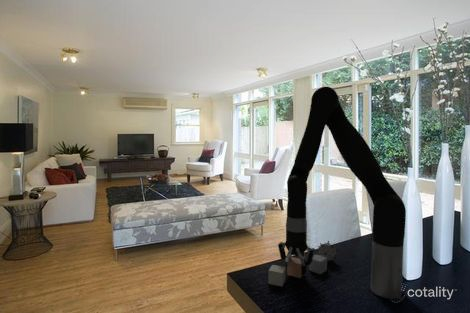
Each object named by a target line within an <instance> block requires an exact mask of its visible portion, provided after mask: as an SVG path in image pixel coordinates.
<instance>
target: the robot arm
mask: <svg viewBox="0 0 470 313" xmlns="http://www.w3.org/2000/svg"><path fill="white" fill-rule="evenodd" d="M310 101H311V102H310V108H309V113H308V119H307V123H306V126H305V129H304V132H303V135H302V137H301V138H302V139H301V142H300V143H299V146H298V149H297V153H296V154H295V155H296V156H295V158H294V163H293V165H292V168H291V170H290V172H289V175H288V177H287V180H286V181H287V182H286V185H287V203H286V220H285V242H283V241H280V242H279V243H278V244H277V247H278V251H279V256H280V259H281V260H284V261H285V267H286V271H287V262H288V261H289V260H290V259H291V258H292V257H293V256H296V257H298V258H299V259H300V260H301V263H302V276H304V275H306V273H307V271H308V270H307V269H308V268H307V267H308V266H309V265H310V264H311V262H312V259H313V256H314V255H315V251H316V249H315V248H314V247H312V248H311V247H309V246H308V244H307V241H308V240H307V237H308V236H307V234H308V229H307V228H308V226H307V225H308V222H307V221H308V220H307V198H308V179H309V176H310V172H311V170H312V169H313V168H314V165H315V163H316V161H317V160H316V159H317V157H318V153H319V151H320V147H321V143H322V138H323V135H324V132H325V131H324V130H325V128H326V127H327V128H328V130H329V132H330V134H331V135H332V136H331V137H332V138H333V141H334V143H335V146H336V148H337V150H338V152H339V154H340V156H341V158H342V159H343V161H344V162H345V164H346V166H347V167H348V168H349V170H350V172H352V174H354V176H355V177H356V178H357V179H358V180H359V182H360V183H361V184H362V185H363V187H364V188H365V190H366V192H367V193H368V196H369V197H370V200H371V202H372V204H373V209H372V210H373V211H372V242H371V243H372V244H371V247H372V248H371V267H370V290H371V292H372V293H373V294H375V295H376V296H378V297H380V298H385V299H391V300H392V299H393V300H394V299H396V300H401V299H402V290H403V289H402V287H403V267H404V266H403V262H404V261H403V260H404V245H405V244H404V242H405V235H406V234H405V233H406V220H407V219H406V218H407V217H406V215H407V213H406V212H407V211H406V205H405V203H404V201H403V199H402V198H401V197H400V195H399V194H398V193H397V192H396V191H395V189H394V188H393V186H391V184H390V183H389V181H388V180H387V178H386V177H385V175H384V173H383V171H382V168H381V167H380V165H379V162H378V160H377V158H376V156H375V155H374V152H373V151H372V149H371V148H370V146H369V145H368V143H367V141H366V140H365V138H364V137H363V136H362V134H361V133H360V132H359V130H358V129H357V128H356V127H355V126H354V125H353V124H352V123H351V121H350V120H349V118H348V117H347V115H346V113H345V111H344V109H343V107H342V104H341V102H340V99H339V95H338V92H336V90H335V89H334V88H332V87H330V86H322V87H319V88H317V89H316V90H315V91H314V92H313V94H312V95H311V100H310ZM285 247H286V249H287V254H286V250H285ZM305 252H307V254H308V257H307V258H306V253H305Z"/></svg>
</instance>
